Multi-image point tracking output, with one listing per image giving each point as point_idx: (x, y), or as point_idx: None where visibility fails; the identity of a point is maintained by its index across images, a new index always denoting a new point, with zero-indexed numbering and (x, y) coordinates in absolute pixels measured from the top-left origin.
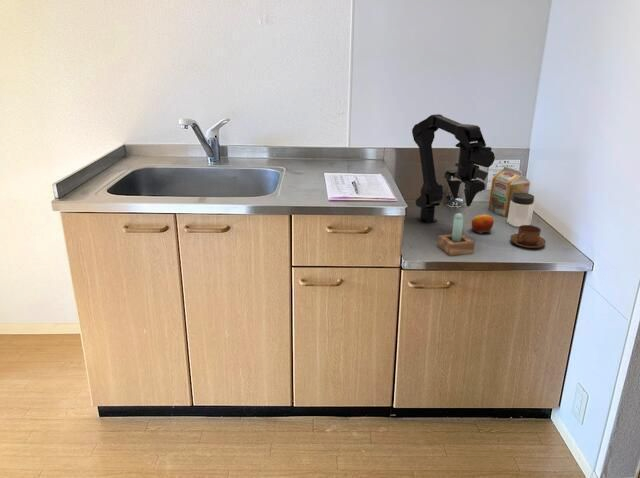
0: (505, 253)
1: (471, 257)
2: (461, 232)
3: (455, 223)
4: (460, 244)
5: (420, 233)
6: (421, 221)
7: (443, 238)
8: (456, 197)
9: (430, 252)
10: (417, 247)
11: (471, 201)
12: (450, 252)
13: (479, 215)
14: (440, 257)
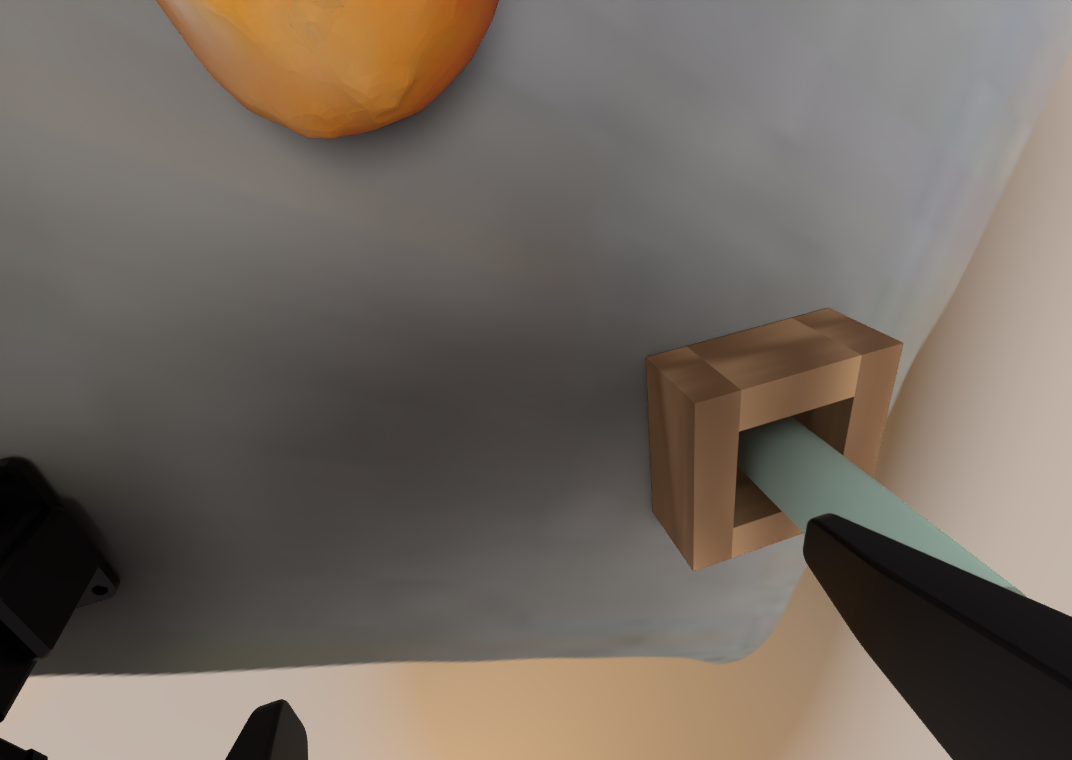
0: (946, 15)
1: None
2: (876, 482)
3: None
4: (876, 452)
5: (409, 599)
6: (88, 600)
7: (751, 547)
8: (282, 736)
9: None
10: (646, 612)
11: (965, 586)
12: None
13: (330, 3)
14: None
